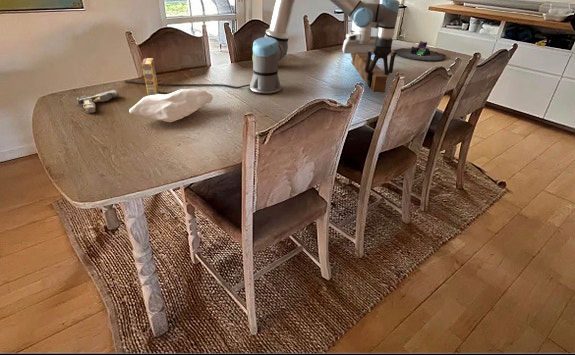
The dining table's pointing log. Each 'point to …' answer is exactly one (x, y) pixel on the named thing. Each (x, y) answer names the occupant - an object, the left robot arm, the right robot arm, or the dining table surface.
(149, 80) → the candy box
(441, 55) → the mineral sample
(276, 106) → the dining table surface
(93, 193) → the dining table surface
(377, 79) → the bar
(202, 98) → the crumpled cloth
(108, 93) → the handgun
